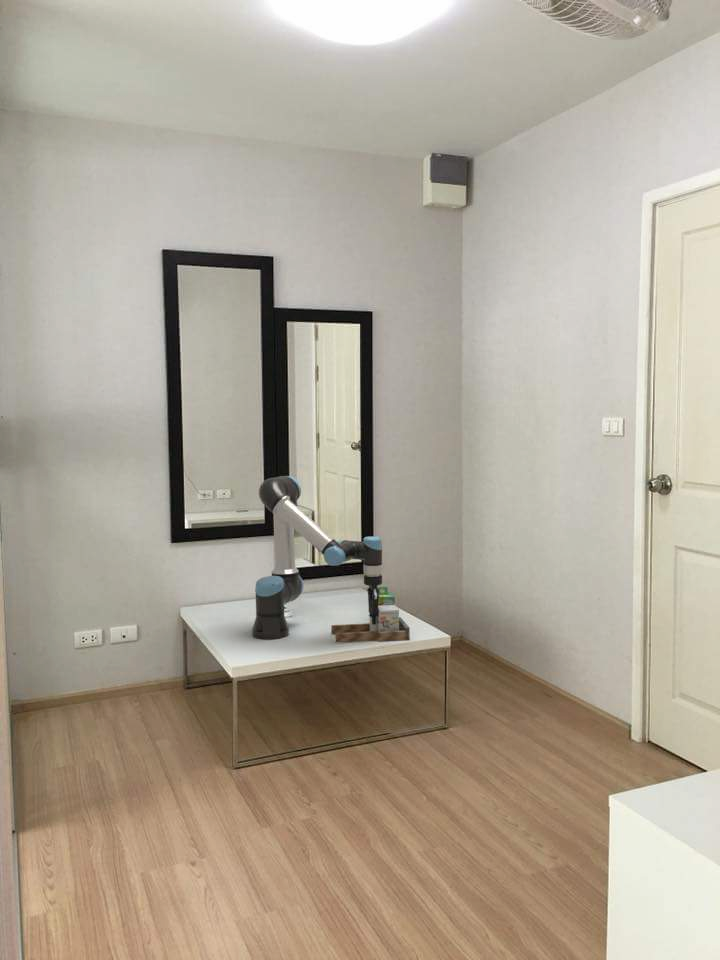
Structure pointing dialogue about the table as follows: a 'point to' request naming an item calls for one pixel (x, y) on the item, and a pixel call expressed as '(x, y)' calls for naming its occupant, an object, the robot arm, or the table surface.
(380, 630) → the ink box
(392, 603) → the chalk box
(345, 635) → the brown low open piece
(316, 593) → the table surface
